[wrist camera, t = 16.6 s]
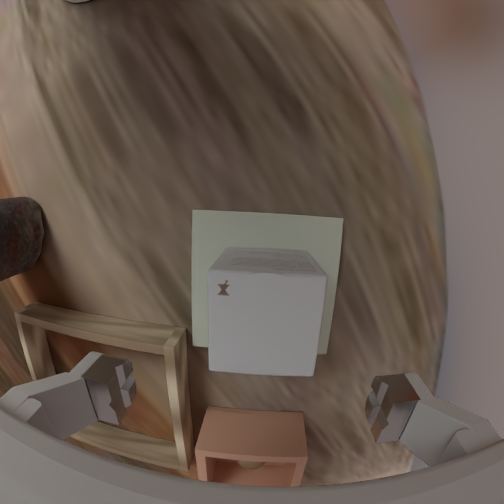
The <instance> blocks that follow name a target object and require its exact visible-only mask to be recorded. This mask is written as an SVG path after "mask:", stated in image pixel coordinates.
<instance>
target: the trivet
mask: <svg viewBox="0 0 504 504" xmlns="http://www.w3.org/2000/svg"><path fill="white" fill-rule="evenodd" d="M342 230H343V218H337V217H324V216H311V215H296V214H281V213H264V212H244V211H222V210H193V214H192V337H193V346H199V347H208V321H207V272H208V270H209V269H210V267H211V266H212V265H213V264H214V263H215V261H216V260H217V259H218V258H219V256H220V255H221V254H222V252H223V251H224V250H225V249H226V247H258V248H280V249H298V250H307V251H308V252H309V254H310V255H311V256H312V257H313V258H314V260H315V261H316V262H317V263H318V265H319V266H320V267H321V268H322V270H323V271H324V272H325V273H326V275H327V276H328V282H327V289H326V296H325V305H324V312H323V320H322V327H321V333H320V340H319V346H318V352H317V354H326V353H327V348H328V342H329V336H330V330H331V323H332V317H333V310H334V303H335V295H336V288H337V279H338V271H339V262H340V252H341V242H342Z"/></svg>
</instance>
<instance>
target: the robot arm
mask: <svg viewBox="0 0 504 504" xmlns="http://www.w3.org/2000/svg"><path fill="white" fill-rule="evenodd" d="M67 1H69V2H74V3H78V2H85V1H89V0H67ZM132 371H133V368H132V363H131V361H130V360H128V359H124V358H119V357H115V356H111V355H107V354H103V353H99V352H94V351H92V352H89V353H88V354H87V355H86V356H85V357H84V358H83V359H82V360H81V361H80V362H79V363H78V364H77V365H76V366H75V367H74V368H73V369H72V370H71V371H70V372H69V373H67V372H64V373H60V374H57V375H54V376H50V377H47V378H44V379H40V380H37V381H33V382H30V383H26V384H22V385H19V386H15V387H12V388H11V389H10V390H9V391H8V392H7V393H6V394H5V395H3V396H2V397H1V398H0V504H504V439H502V438H501V437H500V435H499V434H498V433H497V431H496V430H495V429H494V427H493V426H492V425H491V423H490V422H489V421H488V420H486V419H484V418H482V417H479V416H477V415H475V414H473V413H471V412H469V411H467V410H464V409H462V408H460V407H458V406H456V405H454V404H452V403H449V402H447V401H445V400H443V399H441V398H439V397H435V398H434V396H433V395H432V394H431V392H430V391H429V389H428V388H427V386H426V385H425V384H424V382H423V381H422V379H421V378H420V377H419V375H418V374H417V373H415V372H409V373H402V374H396V375H385V376H375V378H374V379H373V382H372V385H371V387H372V389H373V392H372V393H371V394H370V395H369V396H368V398H367V401H366V408H365V412H366V417H367V420H368V422H370V423H371V424H373V427H372V429H371V431H372V434H373V436H374V439H375V442H376V443H383V442H391V441H398V440H399V442H400V443H401V444H402V445H404V446H405V447H406V448H407V449H408V450H410V451H411V452H412V453H413V454H415V455H416V456H417V457H419V458H420V459H421V460H422V461H424V462H425V463H426V464H427V465H429V466H430V467H428V468H424V469H420V470H416V471H412V472H408V473H404V474H399V475H394V476H390V477H384V478H379V479H373V480H367V481H360V482H352V483H344V484H334V485H321V486H299V487H270V486H248V485H235V484H225V483H217V482H209V481H202V480H196V479H190V478H184V477H179V476H174V475H169V474H164V473H160V472H156V471H151V470H147V469H144V468H140V467H136V466H133V465H129V464H126V463H123V462H119V461H116V460H113V459H110V458H107V457H104V456H101V455H98V454H96V453H93V452H90V451H88V450H85V449H83V448H80V447H78V446H75V445H73V444H70V443H68V442H66V441H63V439H65V438H67V437H69V436H71V435H73V434H74V433H76V432H78V431H80V430H82V429H83V428H85V427H87V426H89V425H90V424H92V423H94V422H96V421H98V419H99V420H102V421H106V422H109V423H113V424H117V425H120V423H121V421H122V420H123V418H124V416H125V415H126V409H125V408H126V407H128V406H130V405H132V403H133V401H134V399H135V395H136V383H135V380H134V379H133V377H132V376H131V375H130V374H131V372H132Z"/></svg>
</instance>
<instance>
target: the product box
mask: <svg viewBox="0 0 504 504" xmlns="http://www.w3.org/2000/svg"><path fill="white" fill-rule="evenodd" d="M327 282H328V276H327V275H326V273H325V272H324V271H323V270H322V268H321V267H320V266H319V265H318V263H317V262H316V261H315V260H314V258H313V257H312V256H311V255H310V254H309V252H308V251H307V250H298V249H280V248H258V247H226V249H225V250H224V251H223V252H222V254H221V255H220V256H219V258H218V259H217V260H216V261H215V263H214V264H213V265H212V266H211V267H210V269H209V270H208V272H207V321H208V356H209V370H210V371H217V372H228V373H240V374H255V375H273V376H313V375H314V369H315V364H316V358H317V352H318V346H319V340H320V333H321V327H322V320H323V312H324V305H325V296H326V289H327Z"/></svg>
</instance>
